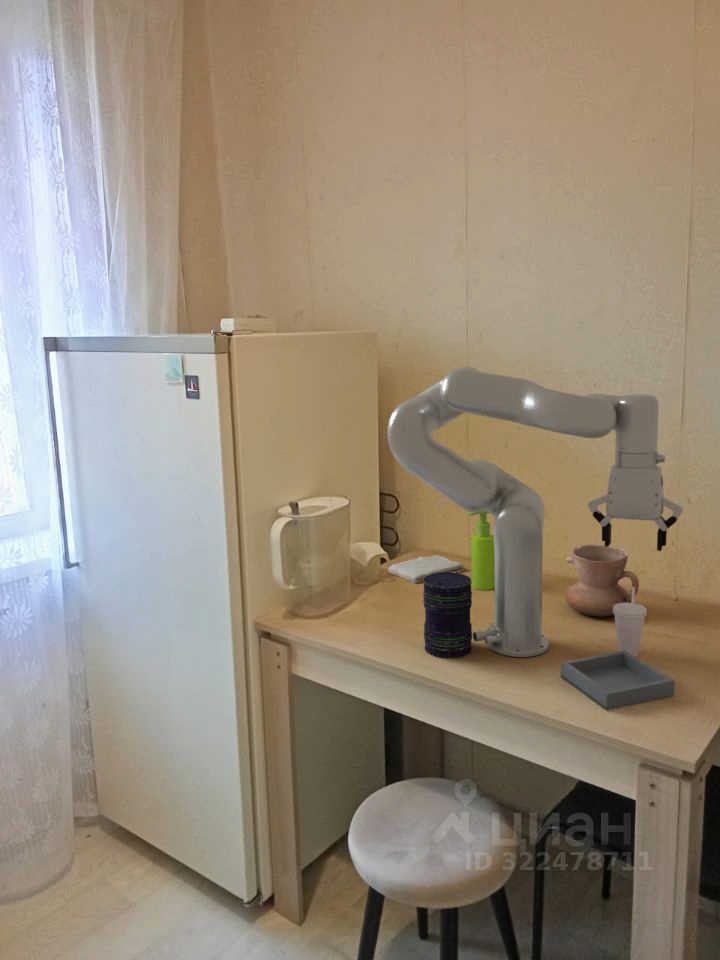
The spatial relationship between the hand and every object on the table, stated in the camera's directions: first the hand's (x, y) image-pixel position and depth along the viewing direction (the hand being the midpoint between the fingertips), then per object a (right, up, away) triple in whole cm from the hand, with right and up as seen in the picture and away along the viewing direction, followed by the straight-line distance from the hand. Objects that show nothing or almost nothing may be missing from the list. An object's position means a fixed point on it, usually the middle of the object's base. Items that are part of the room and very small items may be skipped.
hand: (633, 546), depth 151 cm
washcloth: (-35, -13, +60) cm, 71 cm away
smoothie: (0, -22, +4) cm, 22 cm away
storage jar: (-35, -22, +10) cm, 42 cm away
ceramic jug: (+2, -17, +28) cm, 33 cm away
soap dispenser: (-22, -14, +47) cm, 54 cm away
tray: (-6, -25, -9) cm, 27 cm away
